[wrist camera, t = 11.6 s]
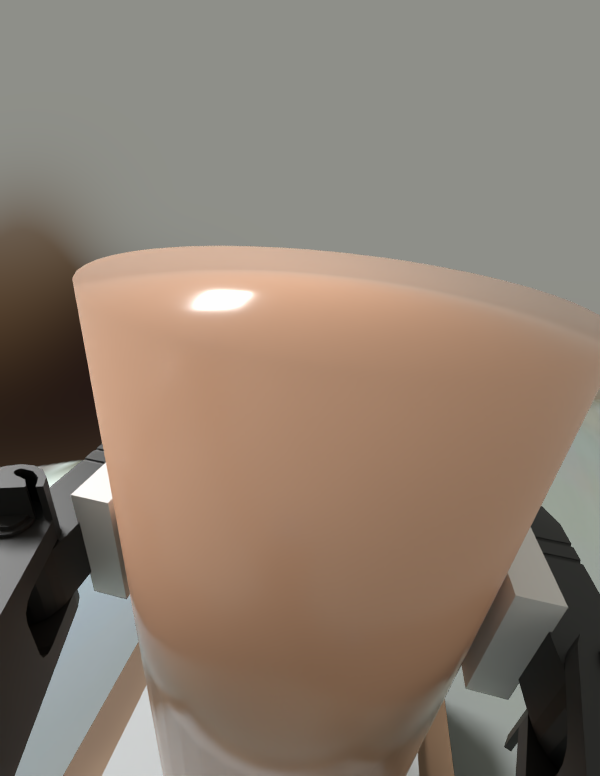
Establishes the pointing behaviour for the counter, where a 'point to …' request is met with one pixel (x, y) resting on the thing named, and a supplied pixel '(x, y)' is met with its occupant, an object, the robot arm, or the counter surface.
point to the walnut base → (139, 745)
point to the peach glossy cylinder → (320, 486)
